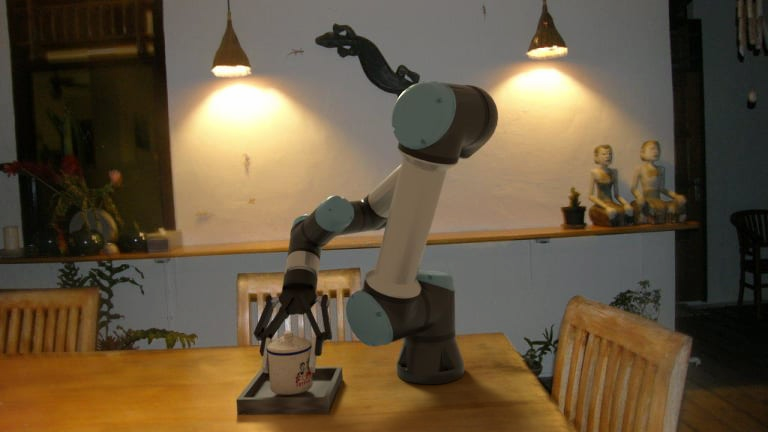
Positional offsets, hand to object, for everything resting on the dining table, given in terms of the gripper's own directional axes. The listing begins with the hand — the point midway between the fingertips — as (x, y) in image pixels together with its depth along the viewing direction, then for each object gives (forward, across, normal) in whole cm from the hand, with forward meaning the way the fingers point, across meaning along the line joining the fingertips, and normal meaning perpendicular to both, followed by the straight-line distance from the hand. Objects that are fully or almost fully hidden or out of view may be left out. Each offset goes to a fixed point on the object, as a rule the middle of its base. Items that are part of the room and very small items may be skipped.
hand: (288, 369), depth 123 cm
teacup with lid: (+1, 0, -6) cm, 6 cm away
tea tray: (+3, 0, -7) cm, 7 cm away
